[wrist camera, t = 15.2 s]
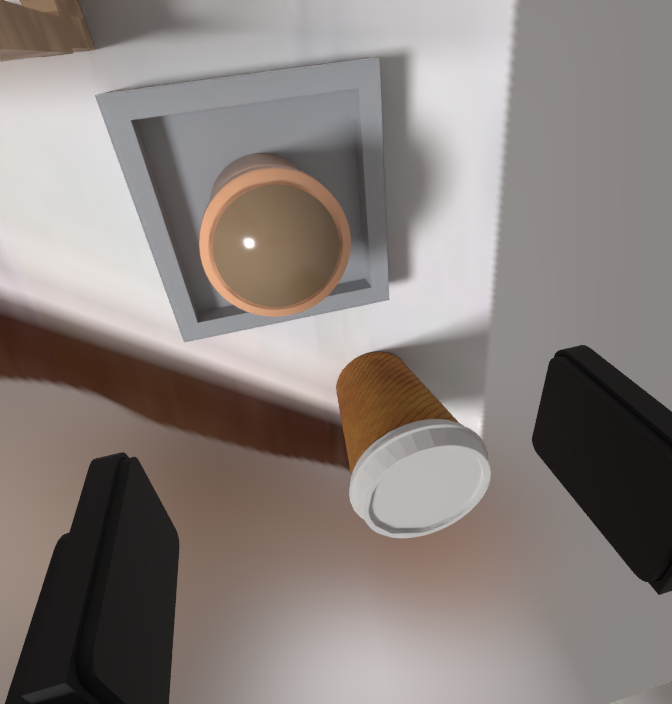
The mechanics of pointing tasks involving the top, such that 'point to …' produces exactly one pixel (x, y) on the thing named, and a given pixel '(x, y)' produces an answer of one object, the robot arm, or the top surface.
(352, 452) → the disposable coffee cup
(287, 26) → the top surface
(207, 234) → the terracotta pot
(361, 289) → the slate tray
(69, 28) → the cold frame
